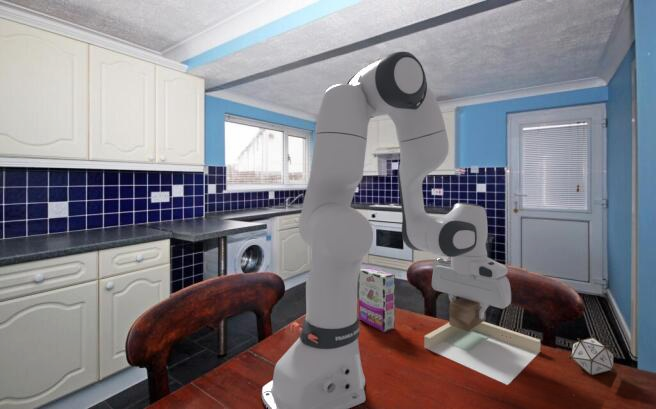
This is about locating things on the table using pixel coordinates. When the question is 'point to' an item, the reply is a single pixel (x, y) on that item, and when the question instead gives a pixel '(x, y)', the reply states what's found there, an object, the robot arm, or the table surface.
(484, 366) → the arena
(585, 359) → the game die
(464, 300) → the walnut block
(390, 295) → the candy bar box
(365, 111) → the robot arm
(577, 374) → the table surface
